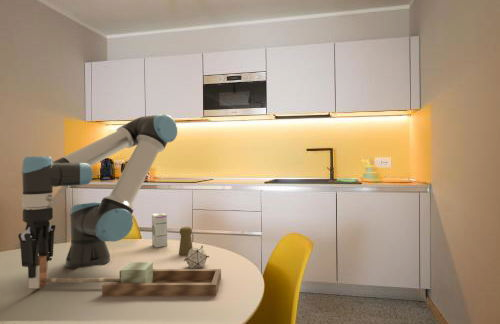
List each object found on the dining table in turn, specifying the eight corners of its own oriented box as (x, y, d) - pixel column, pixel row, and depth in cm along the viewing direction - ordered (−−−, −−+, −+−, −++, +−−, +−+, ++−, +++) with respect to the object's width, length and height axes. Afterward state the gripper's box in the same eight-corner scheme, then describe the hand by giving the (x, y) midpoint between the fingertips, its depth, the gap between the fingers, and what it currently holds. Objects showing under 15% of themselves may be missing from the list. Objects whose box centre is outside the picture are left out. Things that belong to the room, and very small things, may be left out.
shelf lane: (102, 299, 88) (102, 285, 88) (121, 281, 101) (121, 269, 101) (216, 299, 88) (216, 284, 88) (221, 281, 101) (220, 268, 101)
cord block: (25, 291, 92) (24, 260, 92) (41, 282, 99) (41, 253, 99) (145, 291, 91) (144, 260, 91) (152, 282, 98) (152, 253, 98)
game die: (199, 281, 111) (202, 264, 105) (178, 271, 113) (180, 253, 107) (211, 262, 118) (214, 245, 112) (190, 253, 120) (193, 235, 114)
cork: (179, 251, 135) (179, 226, 135) (194, 251, 136) (193, 225, 136) (177, 255, 129) (177, 228, 129) (192, 255, 130) (192, 228, 130)
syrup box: (167, 245, 145) (167, 214, 145) (155, 247, 142) (154, 215, 142) (164, 243, 150) (164, 212, 150) (151, 245, 147) (151, 213, 147)
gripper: (31, 211, 87) (32, 296, 87) (66, 203, 103) (66, 275, 103) (4, 211, 87) (5, 296, 87) (43, 204, 103) (43, 275, 103)
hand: (38, 285), depth 95 cm, fingers closed on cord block, 3 cm apart
